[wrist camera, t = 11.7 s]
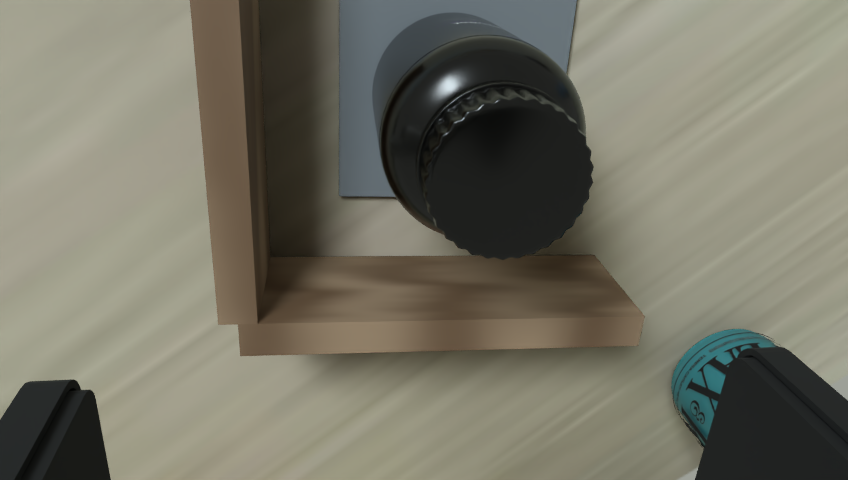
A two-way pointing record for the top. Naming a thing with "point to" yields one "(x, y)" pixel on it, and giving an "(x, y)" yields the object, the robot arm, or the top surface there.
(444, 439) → the top surface
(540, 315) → the wooden corner wall
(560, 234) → the supplement bottle
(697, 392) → the beverage bottle
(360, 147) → the mat
